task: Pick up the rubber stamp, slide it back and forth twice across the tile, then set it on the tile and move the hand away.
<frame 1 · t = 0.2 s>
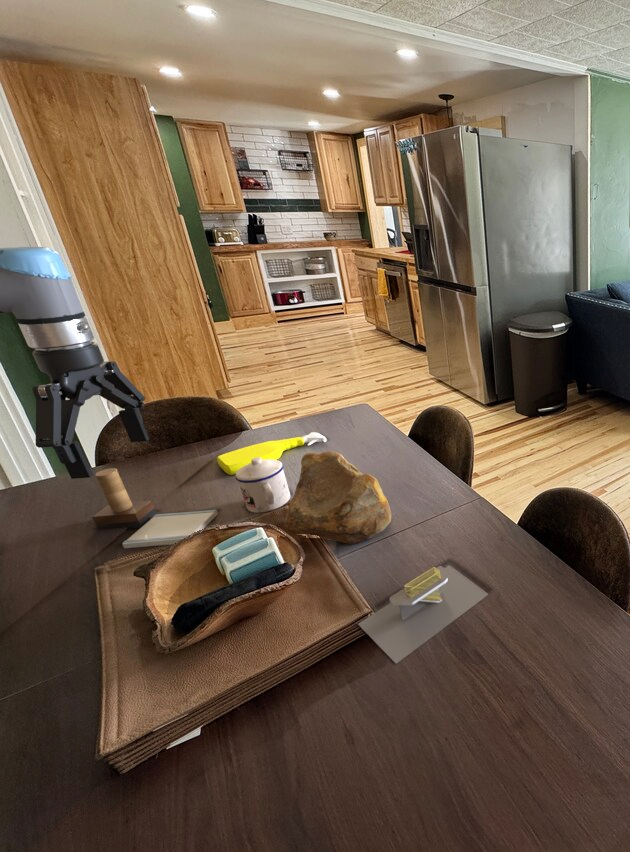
hand: (113, 457, 86), 22 cm above the table, tool pointing down, fingers open, 13 cm apart
rubber stamp: (129, 523, 103), on the table
rough brown rock: (335, 529, 102), on the table
tile: (173, 530, 101), on the table
teacup with lid: (271, 505, 110), on the table
spray bottle: (276, 454, 132), on the table
platform: (425, 609, 82), on the table
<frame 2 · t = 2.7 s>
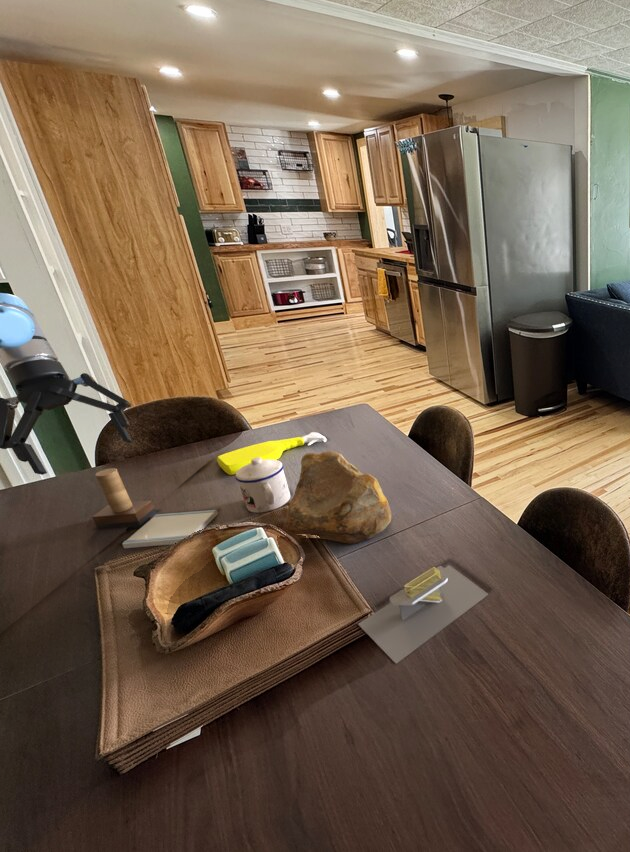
hand: (86, 456, 97), 16 cm above the table, tool tilted 35°, fingers open, 13 cm apart
nothing on the table moved.
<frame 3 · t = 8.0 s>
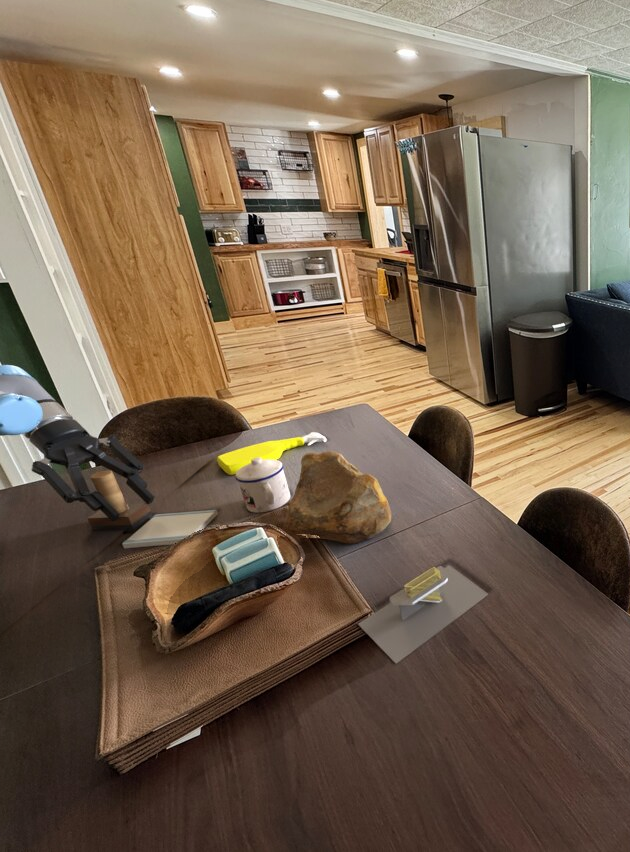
hand: (134, 508, 100), 5 cm above the table, tool tilted 45°, fingers closed on rubber stamp, 6 cm apart
rubber stamp: (125, 525, 102), on the table, touching gripper
everything else where it was.
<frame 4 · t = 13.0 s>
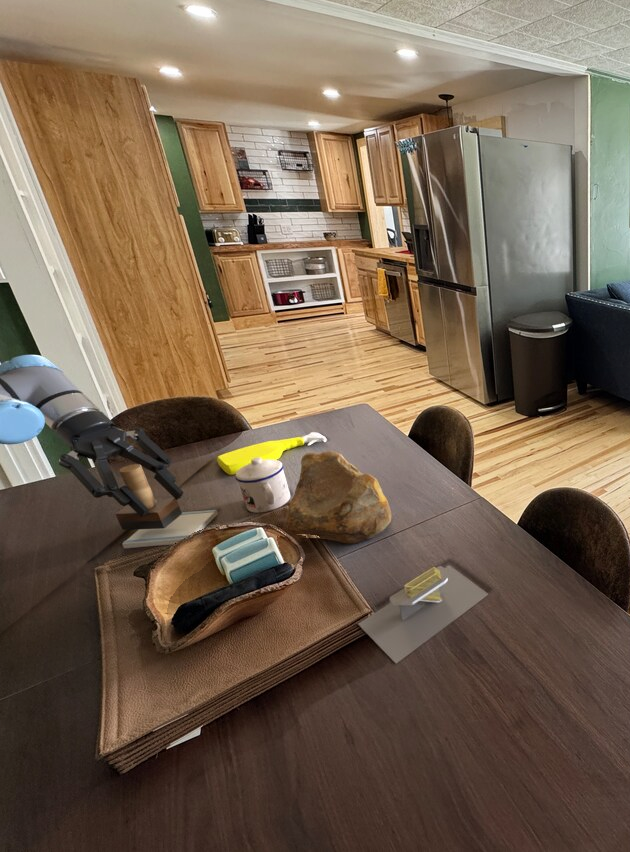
hand: (163, 504, 97), 8 cm above the table, tool tilted 45°, fingers closed on rubber stamp, 6 cm apart
rubber stamp: (153, 521, 99), point 3 cm above the table, touching gripper
everything else where it was.
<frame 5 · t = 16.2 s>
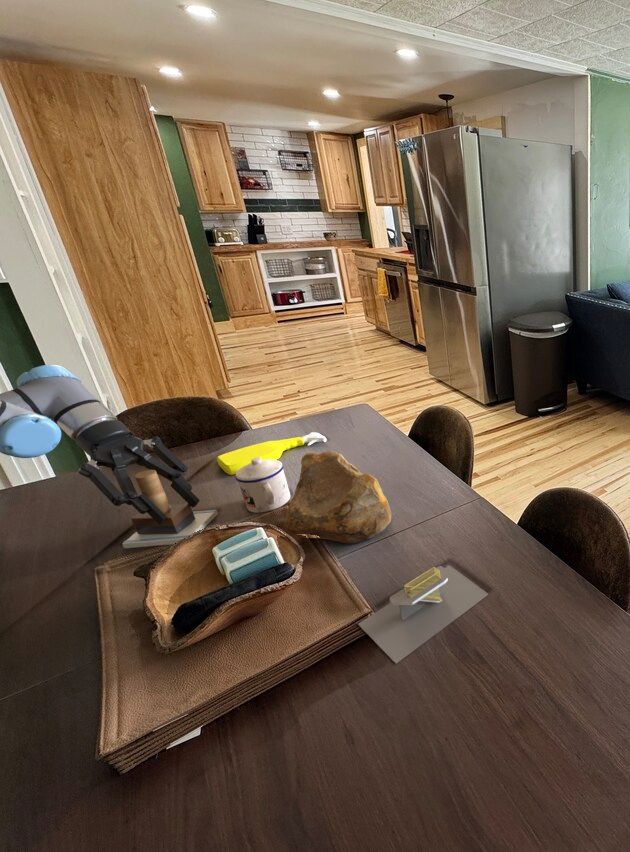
hand: (180, 512, 98), 5 cm above the table, tool tilted 45°, fingers closed on rubber stamp, 5 cm apart
rubber stamp: (167, 526, 100), point 1 cm above the table, touching gripper
everything else where it was.
when the fingers open (5 cm above the table, at t = 18.3 s): rubber stamp stays where it is, resting on tile.
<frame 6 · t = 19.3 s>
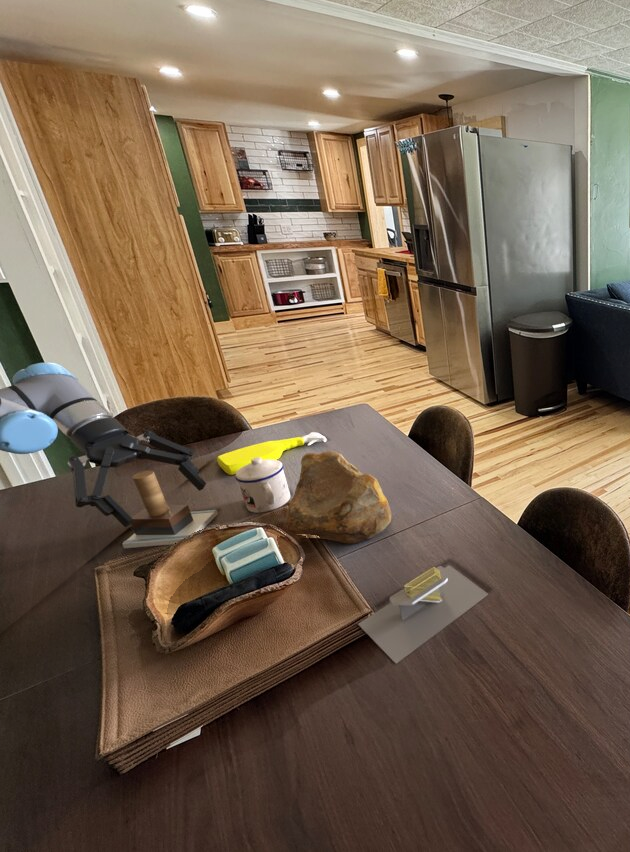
hand: (168, 504, 98), 7 cm above the table, tool tilted 45°, fingers open, 13 cm apart
rubber stamp: (165, 527, 100), point 1 cm above the table, touching tile
everything else where it was.
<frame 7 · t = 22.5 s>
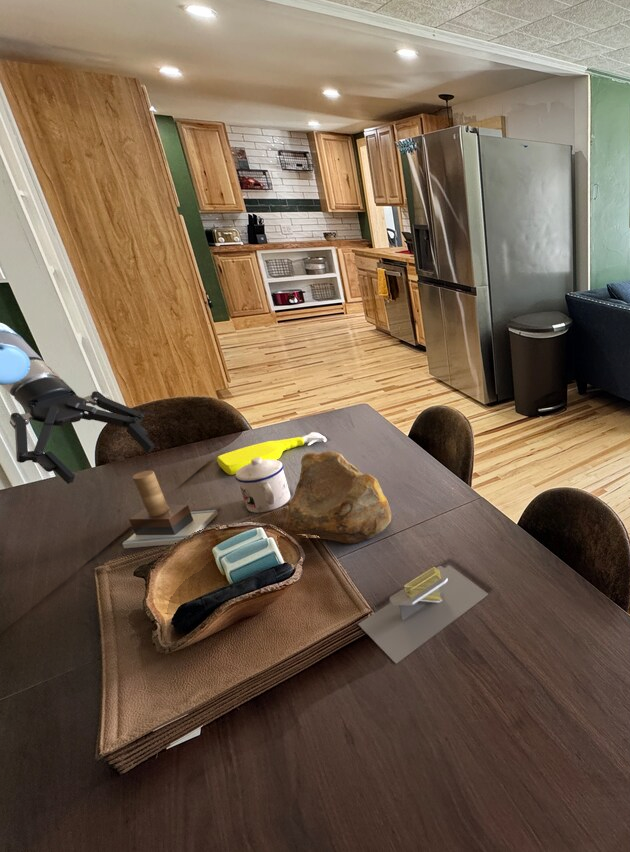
hand: (113, 463, 98), 14 cm above the table, tool tilted 45°, fingers open, 13 cm apart
nothing on the table moved.
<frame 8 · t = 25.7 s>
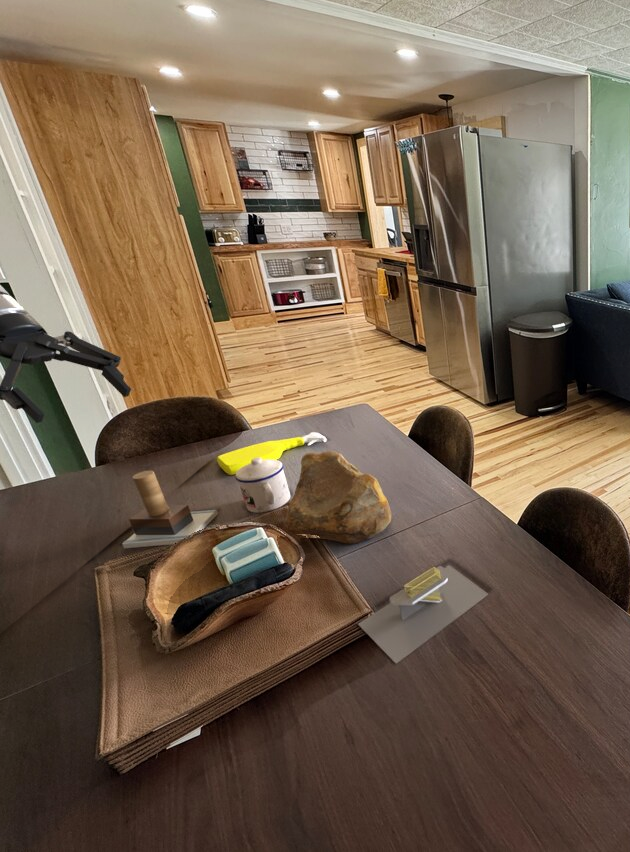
hand: (87, 405, 93), 28 cm above the table, tool tilted 45°, fingers open, 13 cm apart
nothing on the table moved.
at the end: rubber stamp inside the target area on the tile (1.0 cm from its centre), point 1.2 cm above the tile's base; rubber stamp tilted 0°; the gripper is holding nothing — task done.
